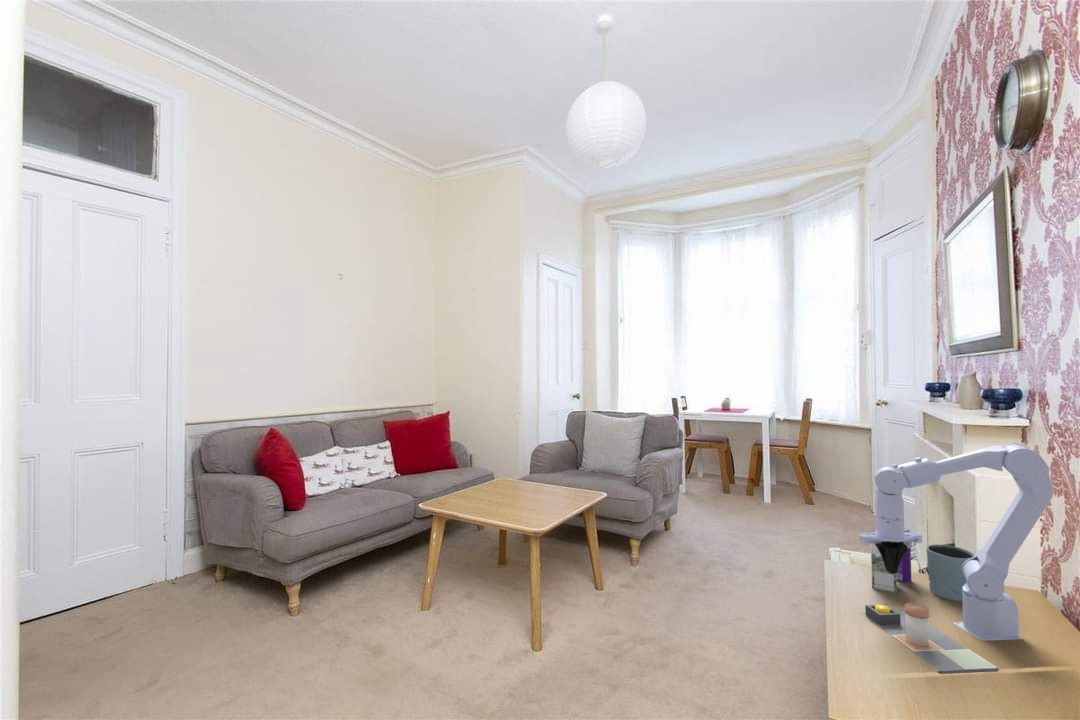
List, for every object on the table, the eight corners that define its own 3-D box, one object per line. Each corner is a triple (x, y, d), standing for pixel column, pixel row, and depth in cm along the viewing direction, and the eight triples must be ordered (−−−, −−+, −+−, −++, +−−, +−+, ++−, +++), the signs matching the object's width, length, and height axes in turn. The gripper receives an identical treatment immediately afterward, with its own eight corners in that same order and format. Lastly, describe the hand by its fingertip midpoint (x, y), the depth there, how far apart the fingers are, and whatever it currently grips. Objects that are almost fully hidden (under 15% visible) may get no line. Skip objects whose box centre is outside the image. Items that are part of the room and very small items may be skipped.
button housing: (885, 614, 126) (885, 604, 126) (900, 624, 121) (900, 614, 121) (865, 614, 126) (865, 605, 126) (879, 625, 121) (879, 614, 121)
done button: (884, 615, 125) (884, 604, 125) (893, 621, 122) (893, 610, 122) (872, 615, 125) (872, 604, 125) (881, 621, 122) (880, 610, 122)
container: (915, 585, 143) (913, 531, 143) (896, 584, 144) (894, 530, 144) (906, 578, 147) (905, 525, 147) (888, 577, 148) (887, 525, 148)
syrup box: (896, 586, 142) (894, 534, 142) (897, 594, 137) (895, 540, 137) (871, 582, 145) (870, 530, 145) (871, 590, 140) (870, 537, 140)
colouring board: (908, 613, 127) (908, 610, 127) (998, 671, 103) (998, 667, 103) (861, 615, 127) (860, 612, 127) (940, 673, 103) (940, 670, 103)
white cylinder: (919, 636, 115) (919, 603, 115) (934, 646, 111) (933, 611, 111) (901, 636, 115) (900, 603, 115) (914, 646, 111) (914, 611, 111)
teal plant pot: (925, 585, 143) (923, 541, 143) (971, 592, 137) (970, 547, 138) (930, 600, 134) (929, 553, 134) (980, 608, 129) (979, 560, 129)
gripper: (906, 511, 131) (907, 564, 131) (851, 513, 131) (852, 566, 131) (928, 519, 124) (929, 575, 124) (869, 521, 124) (871, 578, 124)
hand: (891, 571), depth 127 cm, fingers closed
